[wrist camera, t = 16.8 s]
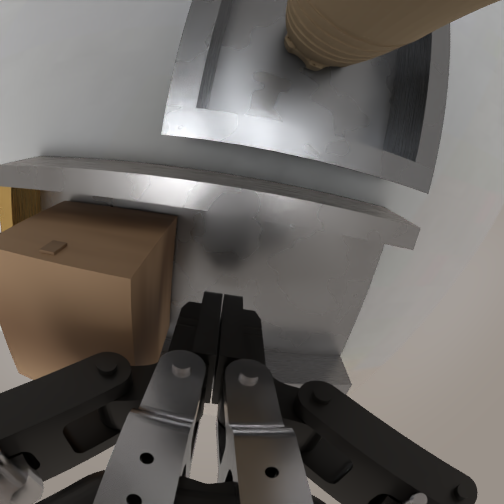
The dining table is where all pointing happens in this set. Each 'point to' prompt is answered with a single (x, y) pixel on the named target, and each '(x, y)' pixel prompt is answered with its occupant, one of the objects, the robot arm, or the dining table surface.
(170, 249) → the tan cardboard box
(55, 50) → the dining table surface
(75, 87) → the dining table surface
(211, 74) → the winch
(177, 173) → the bay
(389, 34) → the handle
